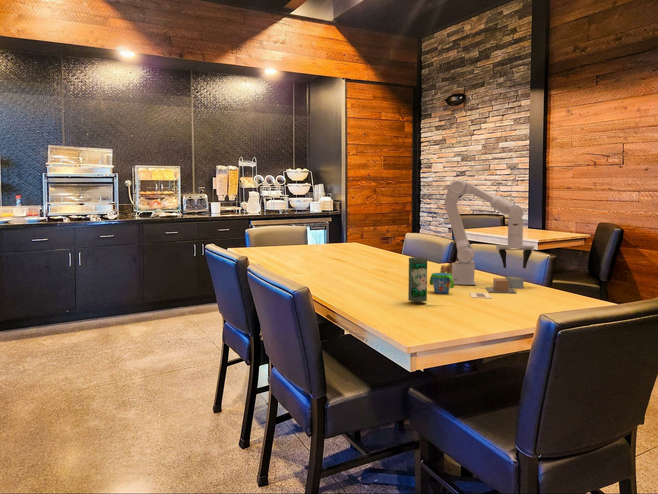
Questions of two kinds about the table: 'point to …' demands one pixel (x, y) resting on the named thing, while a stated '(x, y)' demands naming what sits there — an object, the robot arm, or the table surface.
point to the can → (417, 279)
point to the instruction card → (480, 295)
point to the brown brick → (500, 284)
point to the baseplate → (492, 290)
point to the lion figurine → (446, 268)
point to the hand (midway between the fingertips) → (514, 267)
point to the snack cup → (441, 282)
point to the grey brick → (515, 282)
